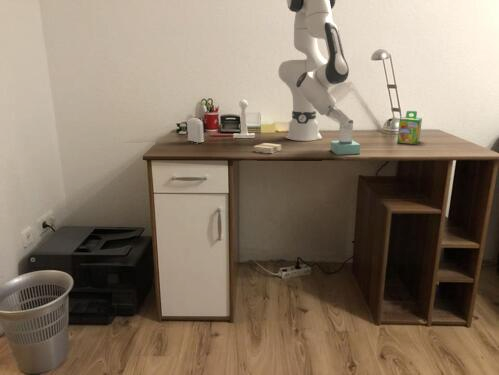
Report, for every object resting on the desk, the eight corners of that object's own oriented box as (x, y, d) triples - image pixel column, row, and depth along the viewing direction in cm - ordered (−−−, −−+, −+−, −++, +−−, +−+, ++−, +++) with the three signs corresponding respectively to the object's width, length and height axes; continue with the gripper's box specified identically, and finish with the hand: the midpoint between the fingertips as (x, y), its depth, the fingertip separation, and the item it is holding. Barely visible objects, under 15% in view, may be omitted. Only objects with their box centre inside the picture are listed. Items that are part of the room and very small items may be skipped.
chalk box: (397, 143, 204) (399, 112, 200) (400, 139, 212) (402, 109, 208) (417, 144, 200) (420, 112, 196) (419, 141, 208) (423, 110, 204)
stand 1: (264, 148, 199) (264, 142, 198) (281, 150, 194) (281, 144, 193) (253, 151, 192) (253, 146, 191) (270, 153, 187) (270, 148, 186)
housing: (338, 142, 189) (339, 119, 186) (348, 141, 189) (349, 119, 187) (341, 143, 185) (343, 120, 182) (351, 143, 185) (353, 120, 182)
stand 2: (330, 149, 193) (331, 141, 191) (352, 149, 194) (352, 140, 192) (337, 154, 183) (337, 145, 182) (359, 153, 184) (360, 144, 183)
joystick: (233, 139, 222) (232, 100, 216) (234, 136, 229) (233, 98, 223) (254, 139, 221) (254, 99, 216) (254, 136, 229) (254, 98, 223)
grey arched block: (186, 141, 218) (185, 117, 214) (194, 140, 221) (192, 116, 217) (197, 144, 210) (196, 119, 207) (205, 143, 213) (203, 118, 209)
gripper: (338, 102, 171) (361, 125, 175) (325, 97, 191) (345, 118, 194) (327, 113, 172) (349, 136, 176) (315, 107, 191) (335, 128, 195)
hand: (347, 127), depth 185 cm, fingers open, 6 cm apart
